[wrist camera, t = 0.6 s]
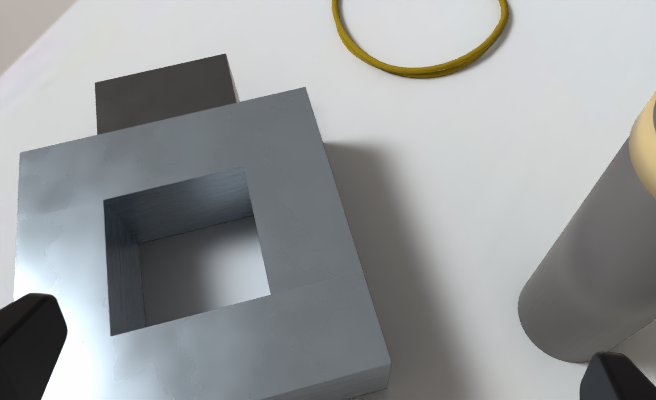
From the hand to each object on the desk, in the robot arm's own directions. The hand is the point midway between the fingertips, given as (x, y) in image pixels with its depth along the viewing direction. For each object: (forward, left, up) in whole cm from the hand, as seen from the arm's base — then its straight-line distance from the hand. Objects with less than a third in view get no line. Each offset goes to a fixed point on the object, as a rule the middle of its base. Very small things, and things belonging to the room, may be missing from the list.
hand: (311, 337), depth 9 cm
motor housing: (+11, +4, -16) cm, 20 cm away
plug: (+3, -12, -16) cm, 20 cm away
